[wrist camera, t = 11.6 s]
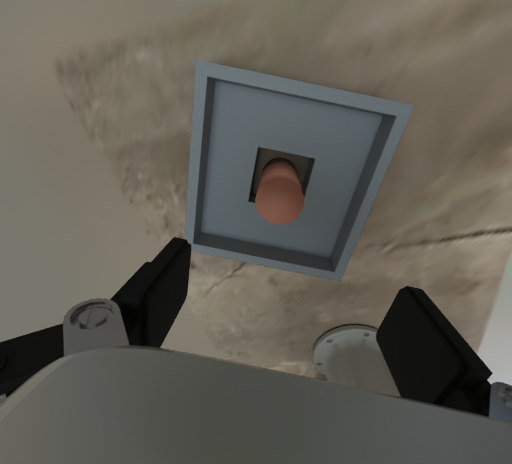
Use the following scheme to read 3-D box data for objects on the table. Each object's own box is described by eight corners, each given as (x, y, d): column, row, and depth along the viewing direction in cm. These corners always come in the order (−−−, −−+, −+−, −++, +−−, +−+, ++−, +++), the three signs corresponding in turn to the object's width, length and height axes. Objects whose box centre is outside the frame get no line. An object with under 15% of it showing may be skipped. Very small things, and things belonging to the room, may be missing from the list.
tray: (330, 254, 33) (340, 281, 28) (198, 227, 33) (183, 249, 28) (385, 106, 26) (414, 105, 20) (213, 70, 25) (196, 59, 20)
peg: (291, 194, 30) (297, 228, 21) (259, 187, 30) (251, 219, 21) (299, 161, 29) (310, 183, 20) (265, 154, 29) (260, 173, 20)
